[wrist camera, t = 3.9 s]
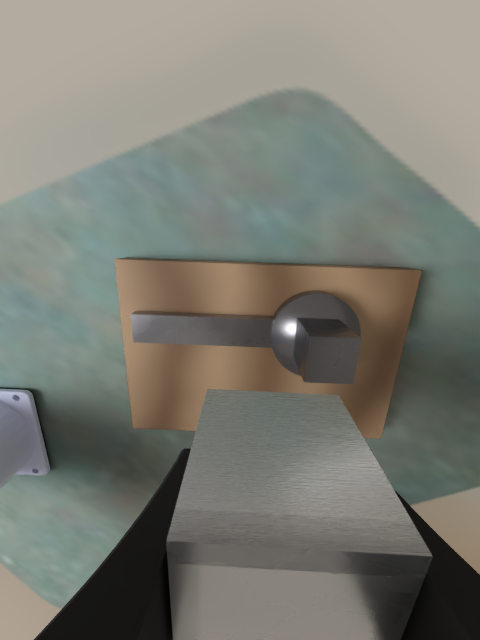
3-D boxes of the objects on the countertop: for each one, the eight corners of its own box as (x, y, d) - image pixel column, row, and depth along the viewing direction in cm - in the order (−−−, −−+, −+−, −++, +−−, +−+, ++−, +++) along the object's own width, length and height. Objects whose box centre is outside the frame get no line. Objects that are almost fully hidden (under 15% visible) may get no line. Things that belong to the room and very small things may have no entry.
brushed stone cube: (207, 487, 11) (176, 681, 6) (207, 388, 9) (166, 540, 5) (321, 493, 11) (379, 695, 6) (338, 395, 9) (432, 556, 5)
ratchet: (140, 361, 17) (108, 398, 13) (133, 283, 16) (94, 298, 12) (345, 369, 17) (376, 409, 13) (359, 292, 15) (399, 310, 11)
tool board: (140, 414, 20) (132, 428, 19) (125, 257, 17) (114, 259, 15) (371, 424, 20) (381, 438, 19) (406, 267, 16) (421, 270, 15)
